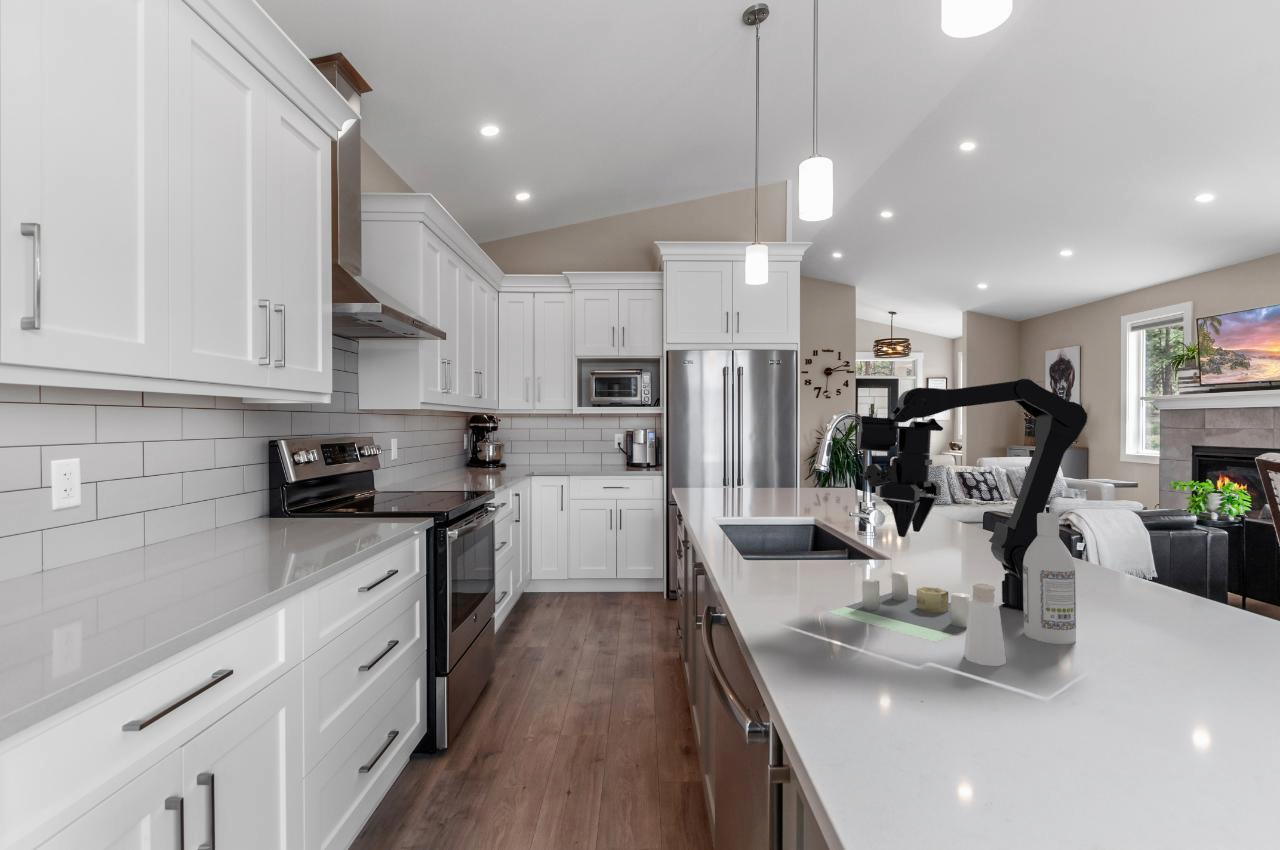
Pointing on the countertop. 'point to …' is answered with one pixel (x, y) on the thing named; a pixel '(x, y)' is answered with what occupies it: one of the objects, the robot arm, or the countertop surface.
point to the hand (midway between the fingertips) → (909, 534)
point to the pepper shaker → (984, 629)
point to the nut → (932, 600)
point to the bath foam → (1049, 586)
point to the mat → (903, 618)
